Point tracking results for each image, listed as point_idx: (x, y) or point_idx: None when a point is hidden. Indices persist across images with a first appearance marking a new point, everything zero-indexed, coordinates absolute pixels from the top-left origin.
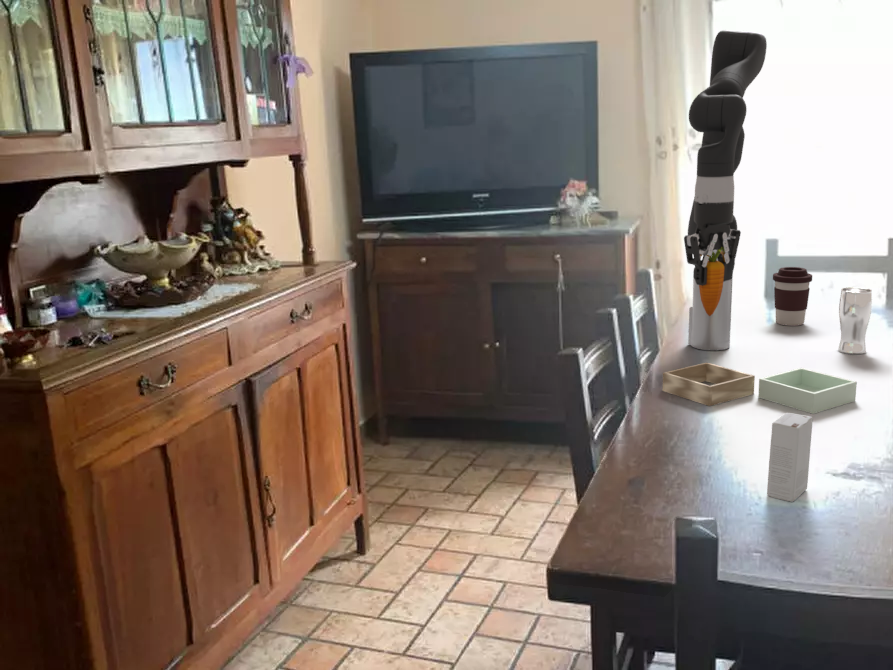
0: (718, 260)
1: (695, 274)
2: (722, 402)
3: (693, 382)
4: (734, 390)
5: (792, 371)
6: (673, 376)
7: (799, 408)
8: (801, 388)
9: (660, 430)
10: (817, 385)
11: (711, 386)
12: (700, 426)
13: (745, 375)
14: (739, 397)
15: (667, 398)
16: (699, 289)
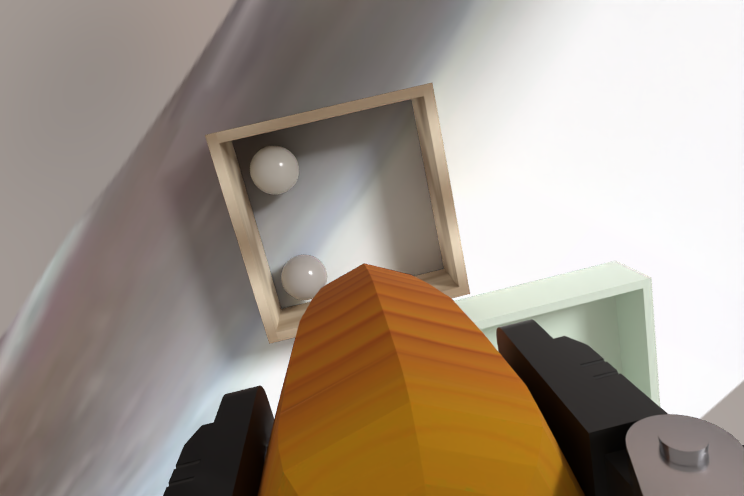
0: (627, 493)
1: (167, 491)
2: None
3: (249, 277)
4: None
5: (600, 298)
6: (221, 188)
7: None
8: (585, 304)
9: (50, 433)
10: (623, 325)
11: (276, 340)
12: (166, 440)
13: (454, 267)
14: None
15: (197, 208)
16: (304, 313)
